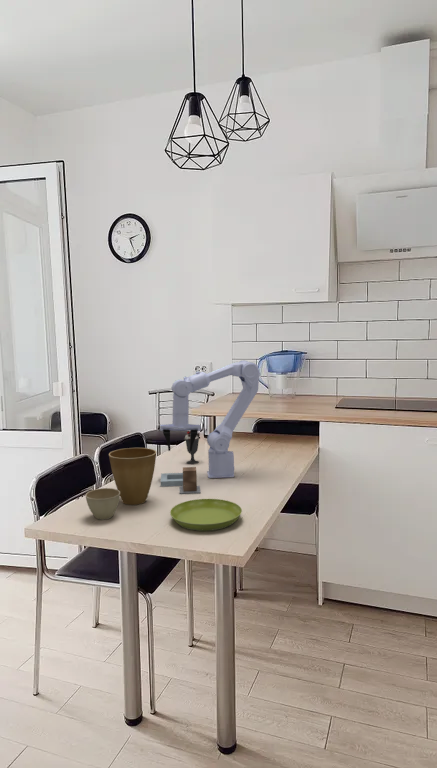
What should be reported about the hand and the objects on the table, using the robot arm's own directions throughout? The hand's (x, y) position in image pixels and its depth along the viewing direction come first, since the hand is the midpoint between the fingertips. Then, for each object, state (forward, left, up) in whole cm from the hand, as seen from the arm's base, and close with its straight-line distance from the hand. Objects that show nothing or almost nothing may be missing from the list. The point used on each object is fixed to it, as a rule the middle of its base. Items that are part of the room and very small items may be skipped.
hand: (180, 450), depth 202 cm
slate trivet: (-3, +15, -10) cm, 18 cm away
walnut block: (-3, +14, -10) cm, 18 cm away
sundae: (-5, -21, -11) cm, 24 cm away
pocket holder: (+2, +4, -10) cm, 11 cm away
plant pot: (+15, +24, -11) cm, 30 cm away
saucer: (-7, +43, -11) cm, 45 cm away
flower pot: (+23, +37, -11) cm, 45 cm away
